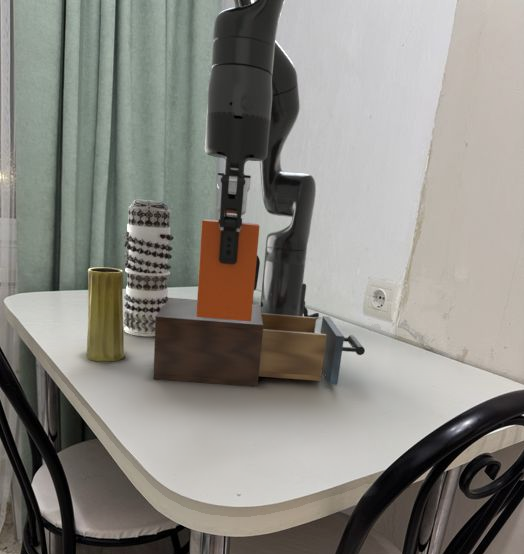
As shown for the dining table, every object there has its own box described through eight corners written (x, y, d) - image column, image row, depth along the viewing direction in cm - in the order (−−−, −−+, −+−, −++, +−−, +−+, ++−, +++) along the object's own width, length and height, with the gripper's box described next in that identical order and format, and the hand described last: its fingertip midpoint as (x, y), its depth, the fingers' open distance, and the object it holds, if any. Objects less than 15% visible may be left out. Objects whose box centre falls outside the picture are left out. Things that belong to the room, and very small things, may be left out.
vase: (131, 355, 85) (133, 270, 81) (110, 364, 80) (110, 274, 76) (101, 348, 87) (101, 265, 83) (77, 357, 81) (76, 269, 77)
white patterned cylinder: (158, 323, 107) (163, 201, 100) (177, 335, 100) (183, 203, 93) (116, 326, 102) (117, 197, 95) (132, 338, 95) (134, 199, 88)
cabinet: (255, 357, 90) (260, 304, 87) (257, 386, 76) (263, 325, 74) (167, 351, 89) (169, 297, 86) (153, 379, 75) (155, 316, 73)
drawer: (347, 360, 90) (353, 318, 88) (364, 387, 78) (372, 338, 75) (242, 352, 89) (246, 309, 87) (242, 378, 76) (247, 328, 74)
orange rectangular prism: (250, 314, 68) (258, 224, 65) (251, 321, 65) (259, 225, 61) (198, 310, 68) (204, 219, 65) (196, 317, 64) (201, 220, 61)
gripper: (210, 120, 66) (202, 253, 71) (202, 100, 52) (193, 265, 57) (267, 126, 67) (256, 257, 71) (274, 108, 53) (259, 271, 58)
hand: (228, 260), depth 64 cm, fingers closed on orange rectangular prism, 4 cm apart
